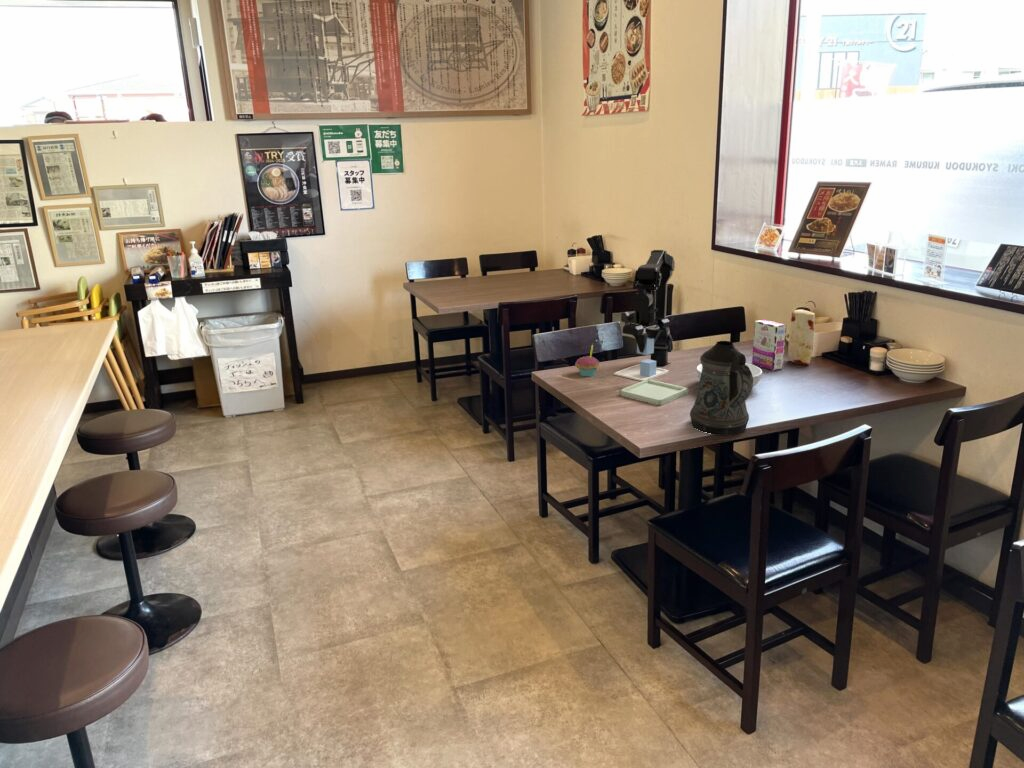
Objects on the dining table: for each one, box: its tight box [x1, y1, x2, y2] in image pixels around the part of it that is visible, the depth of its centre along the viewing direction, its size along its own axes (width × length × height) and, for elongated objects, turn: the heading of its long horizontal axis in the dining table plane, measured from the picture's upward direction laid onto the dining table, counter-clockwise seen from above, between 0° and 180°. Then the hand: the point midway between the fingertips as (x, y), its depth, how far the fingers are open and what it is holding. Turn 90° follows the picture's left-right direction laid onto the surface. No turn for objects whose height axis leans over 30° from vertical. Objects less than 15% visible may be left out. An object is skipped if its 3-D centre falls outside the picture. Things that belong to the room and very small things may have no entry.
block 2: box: [639, 358, 657, 377], centre depth 264 cm, size 4×4×5 cm
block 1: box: [636, 337, 654, 356], centre depth 251 cm, size 4×4×5 cm
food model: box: [787, 308, 816, 366], centre depth 271 cm, size 10×7×20 cm
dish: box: [612, 363, 670, 382], centre depth 267 cm, size 15×13×1 cm
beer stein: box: [689, 340, 754, 436], centre depth 213 cm, size 16×19×25 cm
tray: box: [618, 379, 689, 407], centre depth 246 cm, size 16×16×2 cm
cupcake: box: [574, 344, 600, 377], centre depth 266 cm, size 9×8×12 cm
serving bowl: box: [696, 362, 763, 388], centre depth 249 cm, size 21×21×7 cm
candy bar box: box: [751, 319, 787, 372], centre depth 269 cm, size 11×5×16 cm, turn 25°
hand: (645, 351), depth 251 cm, fingers closed on block 1, 4 cm apart
